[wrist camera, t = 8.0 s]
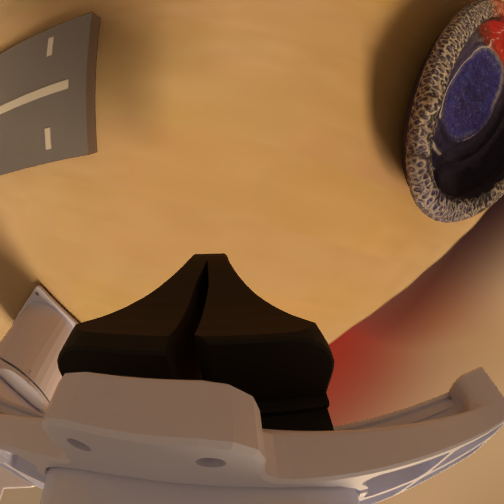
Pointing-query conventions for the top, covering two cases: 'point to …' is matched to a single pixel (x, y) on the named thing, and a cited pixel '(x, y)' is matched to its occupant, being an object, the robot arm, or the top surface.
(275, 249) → the top surface
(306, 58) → the top surface
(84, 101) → the mixer panel
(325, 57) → the top surface
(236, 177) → the top surface
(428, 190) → the dish
